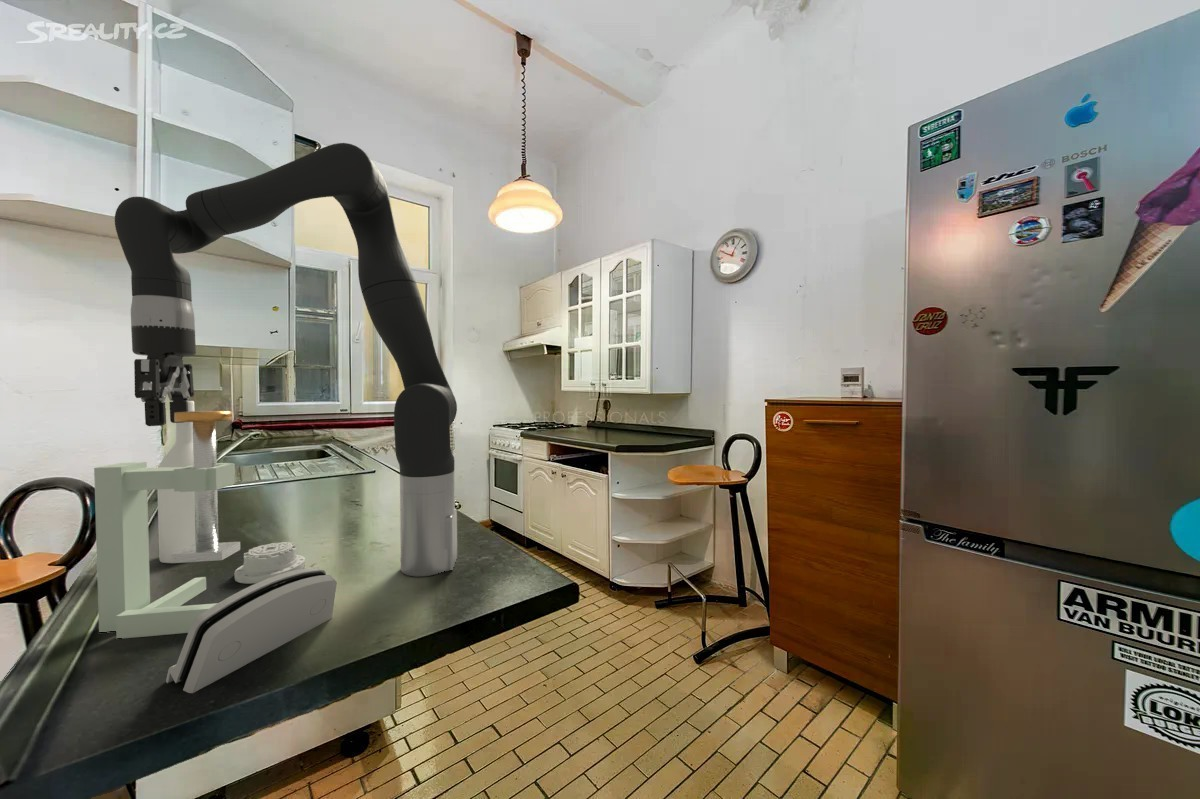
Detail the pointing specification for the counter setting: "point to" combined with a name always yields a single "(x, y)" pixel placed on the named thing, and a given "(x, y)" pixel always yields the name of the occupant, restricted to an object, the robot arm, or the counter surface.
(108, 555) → the frame
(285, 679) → the counter surface
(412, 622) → the counter surface
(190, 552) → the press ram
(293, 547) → the mechanical component
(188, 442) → the bottle
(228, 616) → the grey curved housing
